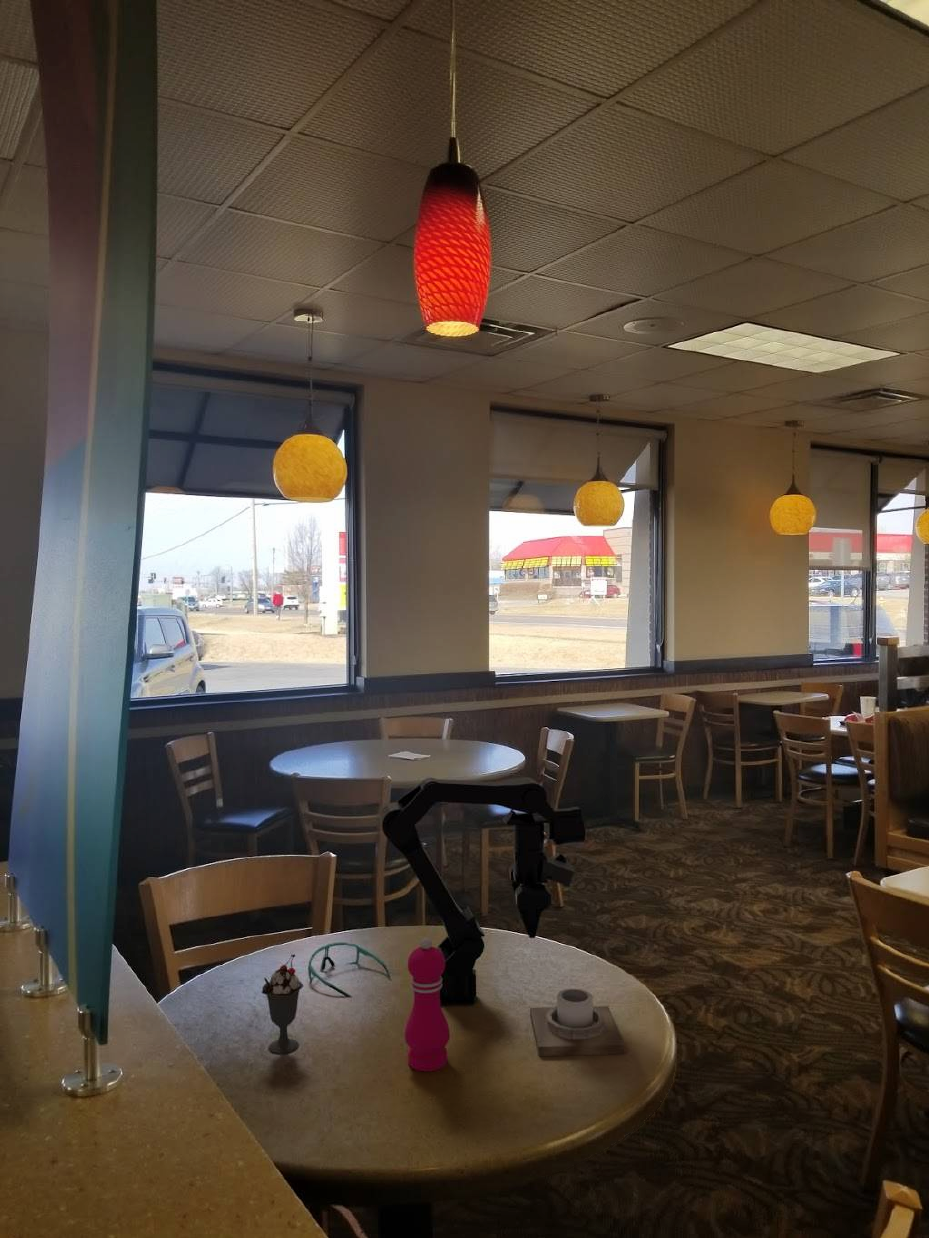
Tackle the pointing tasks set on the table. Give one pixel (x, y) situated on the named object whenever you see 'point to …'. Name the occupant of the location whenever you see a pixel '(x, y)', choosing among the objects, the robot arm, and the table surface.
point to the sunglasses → (359, 949)
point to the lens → (574, 1008)
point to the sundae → (283, 1005)
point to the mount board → (575, 1034)
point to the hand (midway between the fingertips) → (529, 928)
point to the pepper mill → (426, 1010)
